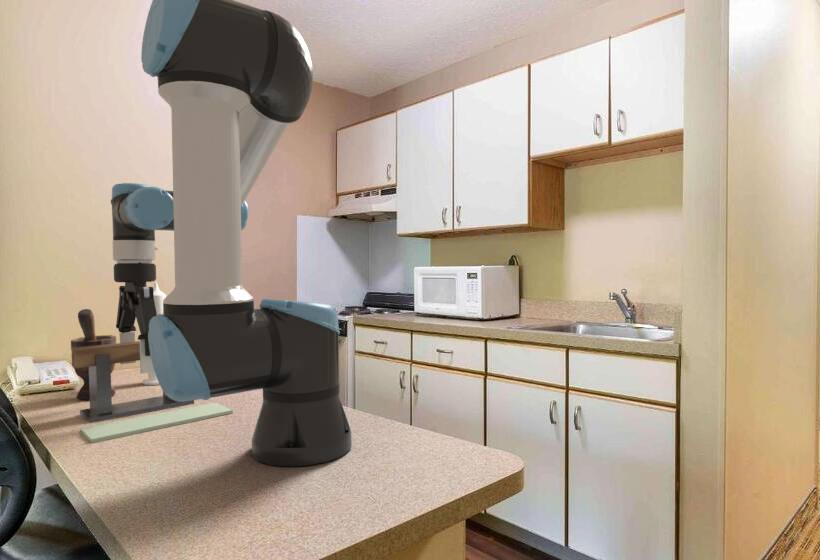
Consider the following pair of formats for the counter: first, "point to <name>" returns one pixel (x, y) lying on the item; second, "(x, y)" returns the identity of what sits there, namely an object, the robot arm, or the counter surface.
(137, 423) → the mat
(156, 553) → the counter surface
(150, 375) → the candle
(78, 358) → the rail
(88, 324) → the mortar and pestle
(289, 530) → the counter surface
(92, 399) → the rack
